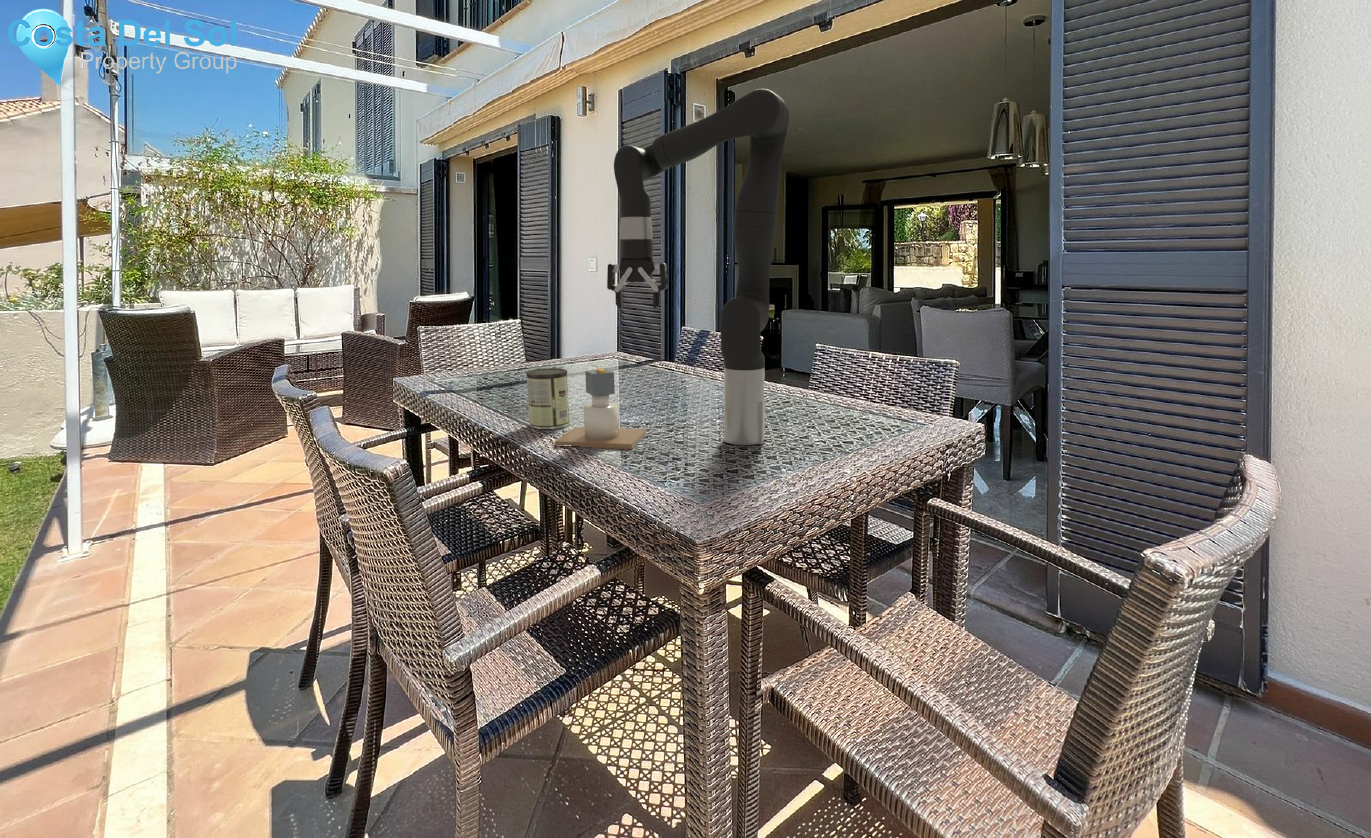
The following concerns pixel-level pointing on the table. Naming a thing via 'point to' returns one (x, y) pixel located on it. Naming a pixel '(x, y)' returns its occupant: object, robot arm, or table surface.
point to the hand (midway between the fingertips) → (638, 308)
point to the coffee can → (548, 398)
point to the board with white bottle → (601, 428)
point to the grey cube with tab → (600, 382)
